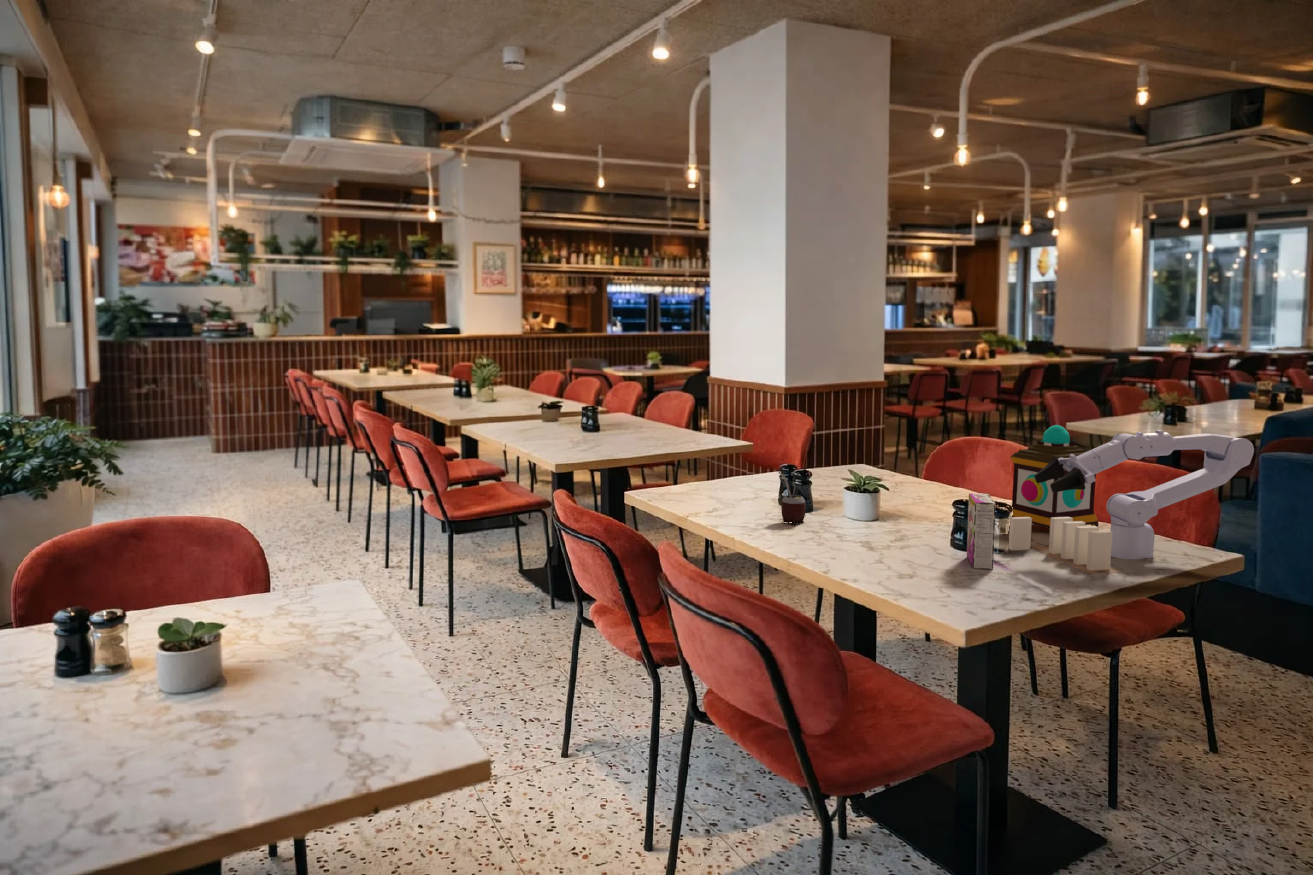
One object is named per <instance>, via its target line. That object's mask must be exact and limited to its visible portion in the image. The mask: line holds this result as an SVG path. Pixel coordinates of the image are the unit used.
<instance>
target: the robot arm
mask: <svg viewBox="0 0 1313 875" xmlns="http://www.w3.org/2000/svg"><path fill="white" fill-rule="evenodd" d="M1154 431H1155V432H1147V433H1144V432H1143V431H1142V432H1141V431H1136V433H1135V434H1130V433H1124V432H1123V433H1117V434H1115V435H1114V436H1113V437H1112V438H1111V441H1108V442H1107V443H1106V442H1105V443H1104V444H1102V445H1098V446H1097V447H1095V448H1093V449H1090V450H1088V451H1084V452H1085V453H1083V454H1081V455H1079V456H1075V455H1073V454H1070V455H1069V456H1070V458H1062V457H1061V458H1059V459H1058V458H1056V457H1053V458H1052V459H1051V460H1050V462H1049V463H1048V464H1047V465H1046V466H1045V467H1044V468H1043V469H1042V470H1041V471H1039V472H1038V473H1037V474H1036V475H1034V477H1035V480H1036V482H1037V483H1042V482H1045V481H1048V480H1051V479H1056V478H1060V479H1058V480H1056V481H1054V482H1053V483H1051V484H1050V487H1051V490H1052V492H1053V493H1055V492H1060V491H1065V490H1073V489H1080V490H1084V489H1085V482H1086V483H1087V484H1090V483H1092V482H1094V481H1095V482H1096V480H1097V479H1096V480H1095V477H1094V474H1096V475H1097V474H1099V473H1101V472H1103V471H1105V470H1107V469H1110V468H1112V467H1114V466H1117V465H1119V464H1121V463H1123V462H1125V461H1127V460H1128V459H1130V460H1136V461H1138V460H1141V459H1143V458H1144V457H1145V458H1148V457H1160V456H1162V457H1163V456H1169V455H1171V454H1172V452H1174V451H1179V450H1180V451H1182V450H1183V451H1185V450H1187V451H1188V450H1201V451H1203V452H1204V457H1203V458H1204V460H1203V468H1202V469H1198V470H1196V471H1193V472H1190V473H1188V474H1186V475H1185V474H1184V475H1183V476H1180V477H1177V478H1174V479H1172V480H1170V481H1167V482H1164V483H1161V484H1159V485H1156V486H1155V487H1151V488H1149V489H1146V490H1140V491H1138V490H1137V491H1131V492H1128V493H1115V494H1112V496H1110V497H1109V498H1108V500H1107V502H1106V511H1107V513H1108V514H1109V515H1110V530H1109V531H1110V532H1113V533H1112V548H1111V557H1114V558H1118V559H1122V560H1141V559H1153V558H1154V551H1155V550H1154V548H1155V530H1154V529H1153V527H1152V526H1151V524H1149V523H1147V522H1148V521H1149V520H1150V519H1151V518H1153V517H1155V516H1157V515H1158V513H1159V512H1158V511H1159V510H1160V509H1164V508H1165V507H1168V506H1171V505H1173V504H1176V503H1179V502H1181V501H1184V500H1187V499H1189V498H1192V497H1194V496H1197V495H1200V494H1202V493H1205V492H1207V491H1210V490H1212V489H1215V488H1218V487H1220V486H1222V485H1225V484H1227V482H1229V481H1230V480H1231V479H1232V478H1233V477H1234V476H1235V475H1236V474H1237V473H1238V471H1240V470H1241V469H1243V468H1245V467H1247V466H1249V465H1251V462H1252V458H1253V456H1254V453H1255V448H1254V444H1253V443H1252V442H1251V440H1249V439H1248V438H1243V437H1235V436H1229V435H1225V434H1222V433H1210V432H1209V433H1208V432H1207V433H1206V432H1205V433H1197V434H1195V433H1194V434H1188V435H1185V434H1184V435H1177V436H1172V435H1171V434H1170V433H1169V432H1165V431H1164V430H1163V429H1162V430H1161V429H1157V430H1156V429H1155V430H1154ZM1063 470H1067V471H1069V473H1067V474H1066V475H1065V474H1064V471H1063Z"/></svg>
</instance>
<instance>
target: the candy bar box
mask: <svg viewBox="0 0 1313 875" xmlns="http://www.w3.org/2000/svg"><path fill="white" fill-rule="evenodd" d="M996 505H997V504H996V502H995V501H994V500H993V498H992V497H991V496H990V494H989V493H975V492H974V493H973V492H972V493H968V506H967V507H968V508H967V510H968V511H967V540H966V542H967V543H966V558H967V560H968V561H969V563H970V565H971V568H972V569H975V570H994V557H995V530H996V529H995V528H996V527H995V526H996Z"/></svg>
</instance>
